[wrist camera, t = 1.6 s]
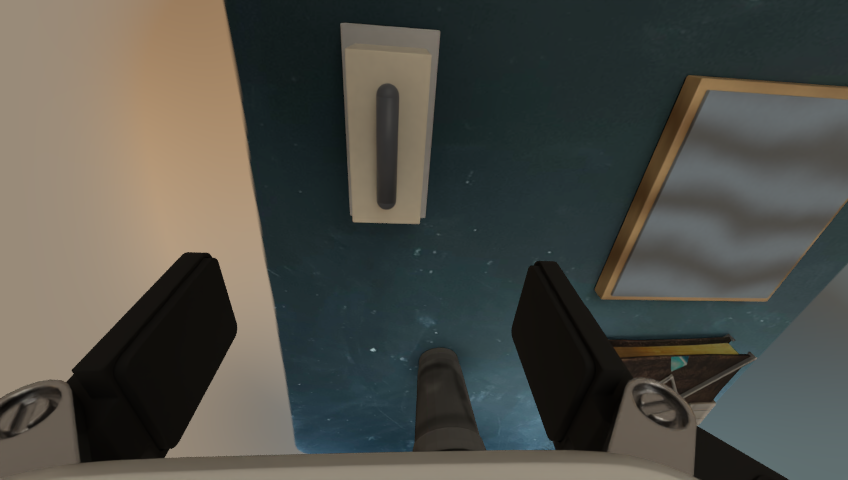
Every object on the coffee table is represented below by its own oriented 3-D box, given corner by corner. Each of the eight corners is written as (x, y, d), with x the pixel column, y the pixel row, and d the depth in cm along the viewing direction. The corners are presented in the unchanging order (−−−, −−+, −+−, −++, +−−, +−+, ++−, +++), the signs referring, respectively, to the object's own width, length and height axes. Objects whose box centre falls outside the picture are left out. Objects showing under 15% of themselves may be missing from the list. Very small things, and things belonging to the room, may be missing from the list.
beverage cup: (458, 383, 42) (495, 623, 26) (400, 376, 41) (400, 625, 24) (478, 344, 39) (539, 594, 22) (416, 334, 37) (428, 594, 20)
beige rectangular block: (343, 22, 22) (321, 23, 16) (438, 30, 22) (452, 34, 16) (352, 207, 29) (339, 257, 23) (424, 209, 29) (430, 259, 23)
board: (687, 74, 25) (705, 78, 23) (907, 91, 26) (939, 95, 25) (593, 289, 35) (602, 301, 34) (754, 292, 37) (769, 303, 35)
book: (591, 334, 39) (615, 372, 35) (732, 330, 40) (772, 366, 36) (549, 437, 51) (563, 475, 46) (659, 431, 52) (682, 468, 47)
